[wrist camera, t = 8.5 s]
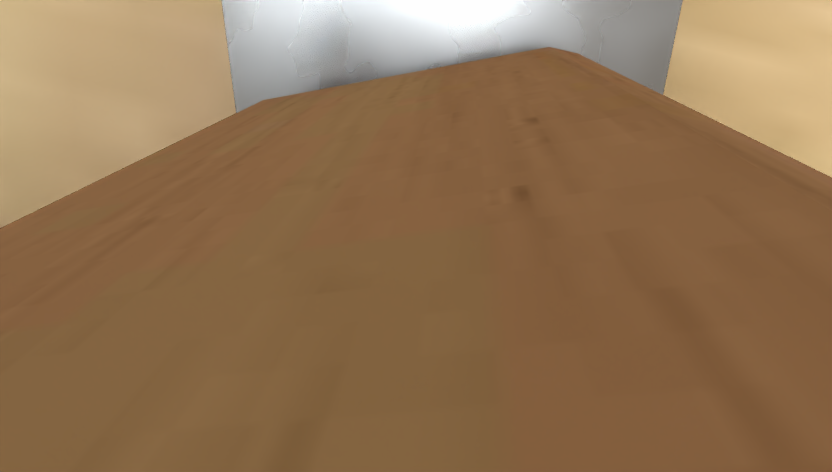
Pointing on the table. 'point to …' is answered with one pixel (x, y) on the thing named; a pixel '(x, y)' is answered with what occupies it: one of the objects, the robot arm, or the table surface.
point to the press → (432, 38)
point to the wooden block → (430, 289)
